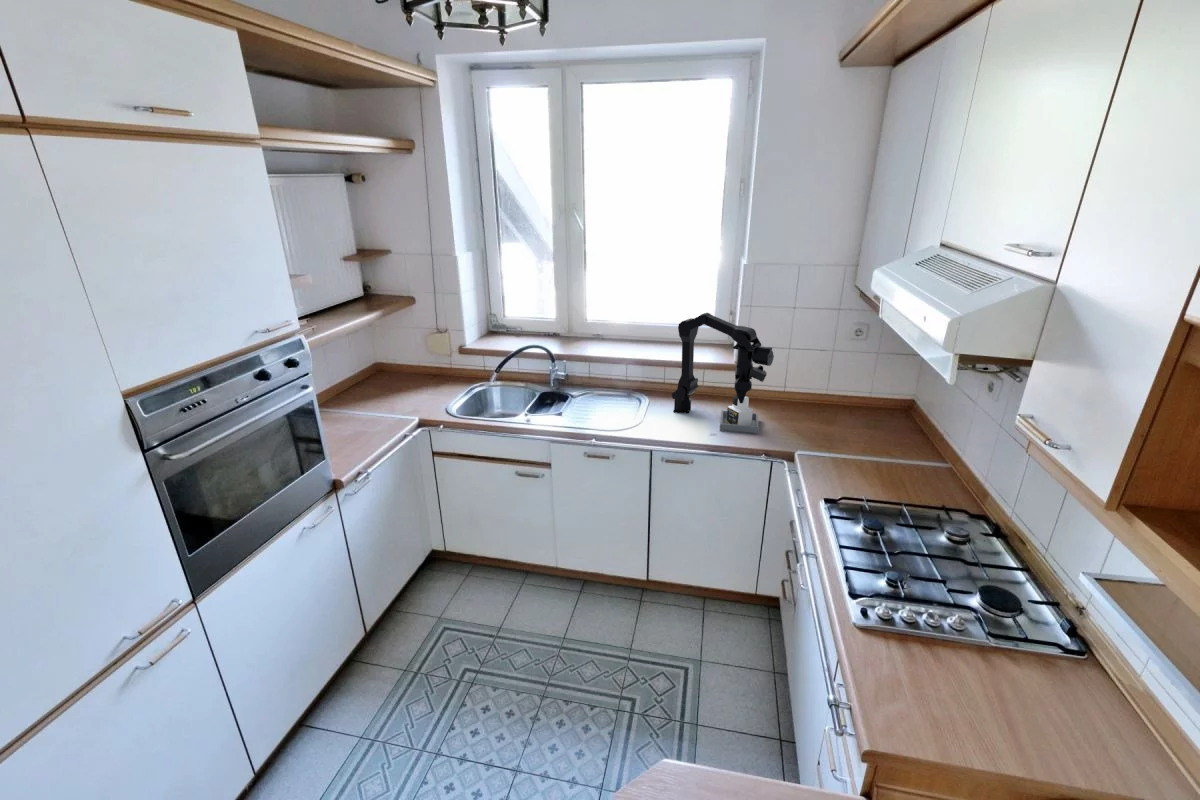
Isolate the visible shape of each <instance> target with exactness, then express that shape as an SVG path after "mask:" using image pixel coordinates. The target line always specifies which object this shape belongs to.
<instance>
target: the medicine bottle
mask: <svg viewBox="0 0 1200 800" xmlns="http://www.w3.org/2000/svg"><path fill="white" fill-rule="evenodd" d="M749 401H750V398H749V396H748V395H747V394H746V395H745V398H744V401H743V403H740V402H739V399H738V396H737V394H735V395H734V396H733V397H732V405H728V406H727V409H726V411H727V423H729V424H736V425H747V426H751V423H752V413H754V412H753V411H754V409H753V408H752V407H749Z"/></svg>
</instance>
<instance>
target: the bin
mask: <svg viewBox="0 0 1200 800" xmlns="http://www.w3.org/2000/svg"><path fill="white" fill-rule="evenodd" d="M719 423H720V424H719V432H725V431H726V432H727V433H737V432H738V433H739V434H748V433H750V434H751V435H759V429H760V427H759V413H758V412H753V413H752V423H751V426H747V425H736V424H729V423H727V410H723V409H722V410H721V413H720V421H719Z"/></svg>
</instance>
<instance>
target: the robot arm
mask: <svg viewBox="0 0 1200 800" xmlns="http://www.w3.org/2000/svg"><path fill="white" fill-rule="evenodd" d="M703 325H704V326H706V327H709V328H712V329H713V330H716V331H718V332H720V333H722V334H725V335H727V336H729V337H730V338H731V339H732V340H733V341H734V342H736V343H735V345H734V346H732V349H733V350H737V356H736V369H735V373H734V374H735V375H734V379H735V380H734V388H733V389H734V391H735V393H736V395H737V396H738V399H739V402H740V403H743V401H744V398H745V395H746V396H747V392H749V391H751V390H752V383H753V382H752V379H756V380H757V381H759V382H761V383H763V382H764V381H765V379H766V377H767V374H768V373H767V371H766V370H764V366H767V367H770V366H771V365H772V364H773V362H774V358H775V355H774V352H773V347H769V346H767V347H766V346H763V344H762V343H761V341H760V339H759V338H758V336H757V335H758V334H757V332H756V330H755V329H754V328H753V327H749V326H748V327H747V326H745V325H736V324H734V323H732V322H728V321H726V320H725V319H722V318H720V317H717V316H715V315H713V314H711V313H710V312H705V313H701V314H699V315H698V316H696V317H693V318H688V319H685V320H682V321H681V322H679V324H678V326H677V327H678V328H677V329H678V330H677V331H678V336H679V339H680V340H681V375H680V378H679V379H678V381H677V387H676V390H675V391H673V392H672V393H671V397H672V399H673V400H674V406H673V407H674V408H673V413H675V412H677V413H679V414H690V412H691V409H692V399H691V396H693V394H695V392H696V391H697V389H698V388H699V378H697V377H695V375H694V356H695V355H694V352H695V351H694V350H695V340H696V337H697V335H698V331H699V328H700V327H702V326H703ZM754 364H757V365H758V366H753V365H754ZM677 413H676V414H677Z"/></svg>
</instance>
